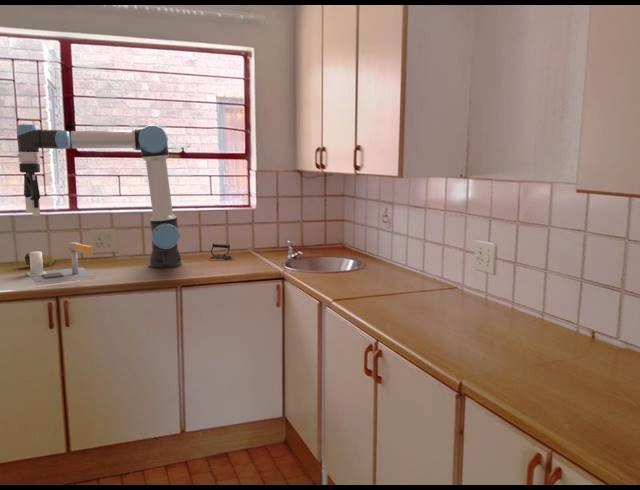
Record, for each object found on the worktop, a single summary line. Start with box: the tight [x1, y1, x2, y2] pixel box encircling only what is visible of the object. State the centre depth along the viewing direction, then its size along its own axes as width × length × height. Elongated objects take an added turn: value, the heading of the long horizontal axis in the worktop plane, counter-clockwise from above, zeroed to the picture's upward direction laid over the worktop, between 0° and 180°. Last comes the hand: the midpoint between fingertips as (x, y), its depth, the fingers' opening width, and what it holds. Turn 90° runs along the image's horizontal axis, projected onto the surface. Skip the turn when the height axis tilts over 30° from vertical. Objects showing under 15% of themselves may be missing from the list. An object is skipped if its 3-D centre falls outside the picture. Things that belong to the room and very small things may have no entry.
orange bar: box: [68, 241, 94, 255], centre depth 234 cm, size 16×4×3 cm, turn 51°
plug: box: [28, 251, 44, 275], centre depth 237 cm, size 5×5×9 cm
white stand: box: [25, 251, 96, 285], centre depth 237 cm, size 23×21×11 cm
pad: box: [26, 270, 47, 278], centre depth 238 cm, size 7×7×1 cm
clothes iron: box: [209, 243, 233, 259], centre depth 282 cm, size 7×11×10 cm, turn 90°
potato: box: [24, 252, 56, 268], centre depth 253 cm, size 8×13×8 cm, turn 128°
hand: (33, 214), depth 233 cm, fingers open, 13 cm apart
